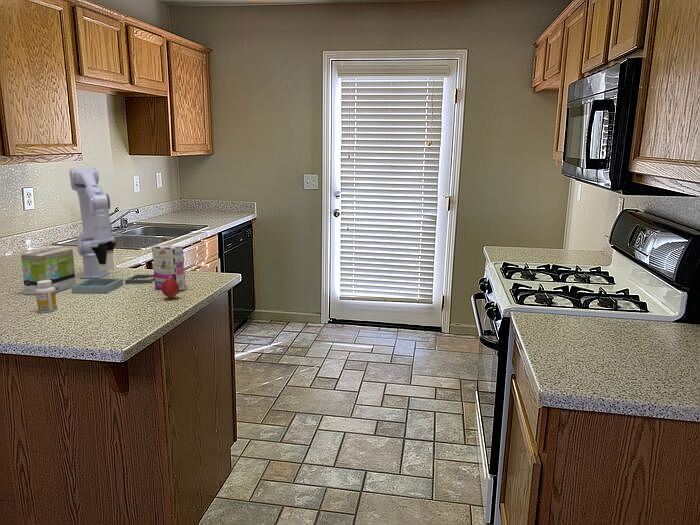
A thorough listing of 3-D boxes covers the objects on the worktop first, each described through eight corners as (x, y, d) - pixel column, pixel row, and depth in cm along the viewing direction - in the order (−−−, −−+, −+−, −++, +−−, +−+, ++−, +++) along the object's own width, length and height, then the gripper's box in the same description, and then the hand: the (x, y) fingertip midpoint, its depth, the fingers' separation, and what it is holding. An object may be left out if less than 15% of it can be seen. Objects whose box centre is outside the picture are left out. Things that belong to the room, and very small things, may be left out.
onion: (162, 301, 186) (160, 278, 184) (162, 297, 191) (161, 275, 190) (179, 300, 187) (178, 277, 186) (180, 296, 193) (178, 274, 191)
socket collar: (136, 278, 222) (136, 274, 221) (160, 278, 221) (160, 274, 221) (125, 283, 212) (125, 280, 212) (150, 283, 212) (150, 280, 211)
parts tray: (90, 285, 210) (89, 278, 210) (123, 285, 210) (122, 278, 209) (72, 293, 198) (71, 286, 197) (107, 293, 197) (106, 286, 197)
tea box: (48, 296, 195) (43, 255, 192) (24, 294, 197) (19, 254, 194) (77, 286, 209) (73, 248, 206) (54, 285, 211) (50, 247, 208)
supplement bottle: (52, 307, 180) (49, 278, 178) (60, 310, 176) (56, 280, 174) (35, 310, 176) (31, 281, 174) (42, 313, 172) (38, 284, 170)
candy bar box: (186, 289, 202) (183, 246, 199) (176, 292, 198) (173, 248, 194) (164, 286, 207) (161, 244, 204) (154, 289, 203) (151, 246, 199)
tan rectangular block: (103, 268, 207) (101, 250, 206) (113, 268, 207) (112, 250, 205) (98, 270, 203) (96, 251, 202) (108, 270, 203) (107, 251, 202)
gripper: (103, 229, 195) (106, 266, 197) (121, 224, 209) (124, 259, 211) (83, 229, 195) (87, 266, 197) (103, 224, 209) (106, 259, 212)
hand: (105, 263), depth 204 cm, fingers closed on tan rectangular block, 4 cm apart
